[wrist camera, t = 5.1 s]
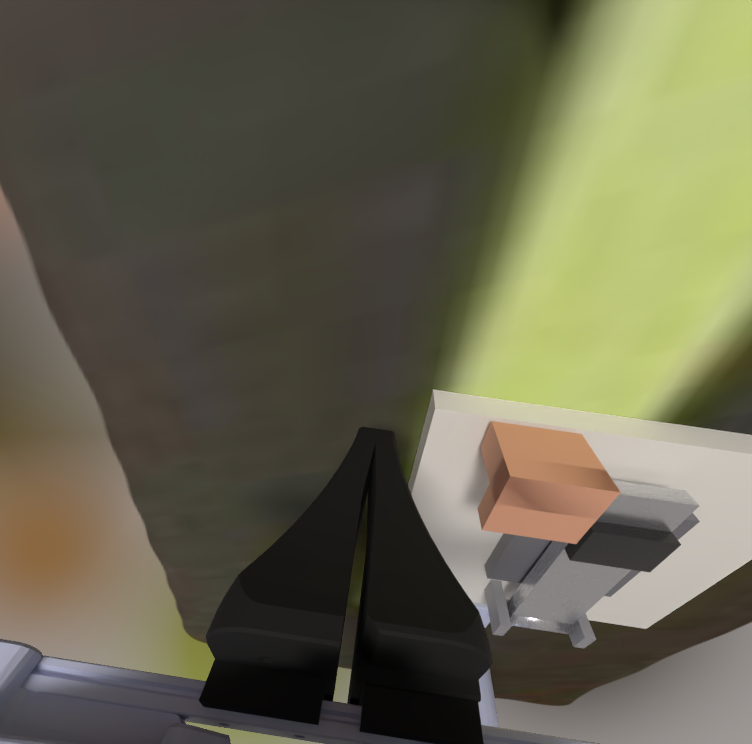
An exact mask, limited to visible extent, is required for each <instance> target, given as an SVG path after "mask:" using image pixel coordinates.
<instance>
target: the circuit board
mask: <svg viewBox="0 0 752 744" xmlns="http://www.w3.org/2000/svg"><path fill="white" fill-rule="evenodd" d="M491 421H495V422H502V423H509V424H516V425H523V426H529V427H536V428H543V429H550V430H557V431H564V432H571V433H578V434H582V435H583V437H584V438H585V440H586V441H587V443H588V444H589V446H590V447H591V449H592V450H593V452H594V453H595V455H596V456H597V458H598V459H599V461H600V462H601V464H602V465H603V467H604V468H605V470H606V471H607V473H608V474H609V476H610V477H611V479H612V480H617V481H624V482H630V483H637V484H644V485H651V486H658V487H665V488H671V489H678V490H685V491H687V493H688V494H689V495H690V496H691V497H692V498H693V499H694V500H695V501H696V502H697V504H698V505H699V507H698V508H697V509H696V510H695V511H694V512H693V513H692V514H691V515H690V516H688V517H687V518H686V519H685V520H684V521H683V522H682V523H681V524H680V525H679V526H678V527H677V528H676V529H675V530H674V531H672V533H673V534H674V536H675V537H676V538H677V540H678V541H679V542H680V544H681V546H679V547H678V548H677V549H676V550H675V551H674V552H673V553H671V554H670V555H669V556H668V557H667V558H666V559H665V560H664V561H662V562H661V563H660V564H659V565H658V566H657V567H656V568H654V569H653V570H652V571H651V572H643V571H637V570H631V571H630V572H629V573H628V574H627V575H626V576H625V577H623V578H622V579H621V580H620V581H619V582H618V583H617V584H616V585H615V586H614V587H613V588H612V589H611V590H610V591H609V592H607V593H606V594H605V595H604V596H603V597H602V598H601V599H600V600H599V601H598V602H597V603H596V604H595V605H594V606H593V607H592V608H590V609H589V610H588V611H587V612H586V613H585V614H584V615H583V616H582V617H581V618H580V619H579V620H578V621H577V622H576V623H574V624H573V625H574V629H573V633H572V634H569V636H570V639H571V642H572V645H573V647H578V648H585V647H587V646H588V645H589V644H591V643H592V642H593V641H595V640H596V638H595V635H594V633H593V630H592V628H591V626H590V623H589V621H588V620H592V621H599V622H605V623H612V624H618V625H625V626H631V627H638V628H644V629H647V628H648V627H650V626H651V625H653V624H654V623H656V622H657V621H659V620H660V619H662V618H663V617H665V616H666V615H668V614H669V613H671V612H672V611H674V610H675V609H677V608H679V607H680V606H682V605H683V604H685V603H686V602H688V601H689V600H691V599H692V598H694V597H695V596H697V595H698V594H700V593H701V592H703V591H704V590H706V589H707V588H709V587H710V586H712V585H714V584H715V583H717V582H718V581H720V580H721V579H723V578H724V577H726V576H727V575H729V574H730V573H732V572H733V571H735V570H736V569H738V568H739V567H741V566H742V565H744V564H745V563H747V562H749V561H750V560H752V435H748V434H741V433H734V432H727V431H720V430H713V429H706V428H699V427H692V426H685V425H678V424H671V423H664V422H657V421H650V420H643V419H636V418H629V417H622V416H615V415H608V414H601V413H594V412H587V411H580V410H573V409H566V408H559V407H552V406H545V405H538V404H531V403H524V402H517V401H510V400H503V399H496V398H489V397H482V396H475V395H468V394H461V393H454V392H447V391H440V390H433V392H432V396H431V399H430V403H429V407H428V411H427V415H426V419H425V422H424V426H423V430H422V434H421V438H420V441H419V445H418V449H417V453H416V457H415V461H414V464H413V468H412V472H411V476H410V480H409V483H408V488H409V490H410V493H411V495H412V498H413V500H414V503H415V505H416V507H417V509H418V512H419V514H420V516H421V518H422V520H423V522H424V524H425V526H426V528H427V530H428V532H429V534H430V536H431V538H432V539H433V541H434V543H435V544H436V546H437V548H438V550H439V551H440V553H441V555H442V557H443V558H444V560H445V562H446V563H447V565H448V567H449V568H450V570H451V571H452V573H453V574H454V576H455V577H456V579H457V581H458V582H459V583H460V585H461V586H462V588H463V589H464V591H465V592H466V594H467V595H468V597H469V598H470V599H471V601H472V602H475V603H482V604H487V607H488V612H489V618H490V623H491V629H492V634H494V635H501V636H504V634H505V633H506V632H507V631H508V630H509V629H510V628H511V627H512V626H511V621H510V617H509V613H508V608H507V604H506V600H505V599H510V598H511V597H512V596H513V594H514V593H515V591H516V590H517V589H518V587H519V586H520V585H521V583H522V582H523V581H524V579H525V578H526V576H527V575H528V574H529V572H530V571H531V570H532V568H533V567H534V566H535V564H536V563H537V561H538V560H539V559H540V557H541V556H542V555H543V553H544V552H545V551H546V549H547V548H548V546H549V545H550V544H551V542H552V540H545V539H538V538H532V537H525V536H518V535H512V534H505V533H498V532H492V531H485V530H482V529H481V524H480V519H479V514H478V509H477V508H478V506H479V504H480V502H481V500H482V498H483V496H484V494H485V492H486V490H487V488H488V486H489V484H490V482H489V479H488V475H487V471H486V467H485V463H484V460H483V456H482V452H481V445H482V443H483V440H484V438H485V436H486V433H487V431H488V429H489V426H490V424H491Z"/></svg>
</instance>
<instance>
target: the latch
mask: <svg viewBox="0 0 752 744" xmlns="http://www.w3.org/2000/svg"><path fill="white" fill-rule="evenodd" d="M481 452H482V456H483V460H484V463H485V467H486V471H487V475H488V479H489V482H490V484H489V486H488V488H487V490H486V492H485V494H484V496H483V498H482V500H481V502H480V504H479V506H478V508H477V509H478V514H479V519H480V524H481V529H482V530H485V531H492V532H498V533H505V534H512V535H518V536H525V537H532V538H538V539H545V540H552V541H559V542H565V543H572V544H577V543H578V541H579V540H580V539H581V538H582V537H583V536H584V534H585V533H586V532H587V531H588V530H589V529H590V528H591V526H592V525H593V524H594V523H595V522H596V521H597V519H598V518H599V517H600V516H601V515H602V514H603V513H604V511H605V510H606V509H607V508H608V507H609V506H610V504H611V503H612V502H613V501H614V500H615V499H616V498H617V496H618V495H619V494H620V493H621V492H620V490H619V489H618V487H617V486H616V485H615V483H614V482H613V480H612V479H611V477H610V476H609V474H608V473H607V471H606V470H605V468H604V467H603V465H602V464H601V462H600V461H599V459H598V458H597V456H596V455H595V453H594V452H593V450H592V449H591V447H590V446H589V444H588V443H587V441H586V440H585V438H584V437H583V435H582V434H578V433H571V432H564V431H557V430H550V429H543V428H536V427H529V426H523V425H516V424H509V423H502V422H495V421H491V424H490V426H489V429H488V431H487V433H486V436H485V438H484V440H483V443H482V445H481Z"/></svg>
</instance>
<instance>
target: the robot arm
mask: <svg viewBox="0 0 752 744" xmlns="http://www.w3.org/2000/svg"><path fill="white" fill-rule="evenodd" d="M368 488H369V490H368ZM367 492H368V516H367V543H366V556H365V565H364V573H363V582H362V590H361V598H360V606H359V615H358V623H357V631H356V639H355V647H354V655H353V663H352V671H351V679H350V687H349V695H348V703H347V704H346V703H340V702H333V695H334V690H335V683H336V676H337V669H338V662H339V655H340V648H341V641H342V634H343V627H344V620H345V613H346V606H347V599H348V592H349V585H350V578H351V572H352V565H353V558H354V551H355V546H356V541H357V537H358V532H359V528H360V523H361V519H362V515H363V510H364V506H365V501H366V497H367ZM489 622H490V618H489V612H488V607H487V604H482V603H475V602H472V601H471V599H470V598H469V597H468V595H467V594H466V592H465V591H464V589H463V588H462V586H461V585H460V583H459V582H458V581H457V579H456V577H455V576H454V574H453V573H452V571H451V570H450V568H449V567H448V565H447V563H446V562H445V560H444V558H443V557H442V555H441V553H440V551H439V550H438V548H437V546H436V544H435V543H434V541H433V539H432V538H431V536H430V534H429V532H428V530H427V528H426V526H425V524H424V522H423V520H422V518H421V516H420V514H419V512H418V509H417V507H416V505H415V503H414V500H413V498H412V495H411V493H410V490H409V488H408V485H407V482H406V479H405V476H404V473H403V470H402V467H401V464H400V460H399V456H398V452H397V448H396V443H395V435H394V433H393V432H392V431H388V430H381V429H374V428H367V427H361V428H359V430H358V433H357V436H356V438H355V440H354V442H353V444H352V446H351V448H350V450H349V452H348V454H347V455H346V457H345V459H344V460H343V462H342V464H341V465H340V467H339V468H338V470H337V471H336V473H335V474H334V476H333V477H332V479H331V480H330V481H329V483H328V484H327V486H326V487H325V488H324V490H323V491H322V492H321V493H320V495H319V496H318V497H317V498H316V500H315V501H314V502H313V503H312V504H311V506H310V507H309V508H308V509H307V510H306V511H305V512H304V513H303V515H302V516H301V517H300V518H299V519H298V520H297V521H296V522H295V523H294V524H293V525H292V526H291V527H290V528H289V529H288V530H287V531H286V532H285V533H284V534H283V535H282V536H281V537H280V538H279V539H278V540H277V541H276V542H275V543H274V544H273V545H272V546H271V547H270V548H269V549H267V550H266V551H265V552H264V553H263V554H262V555H261V556H259V557H258V558H257V559H256V560H255V561H254V562H253V563H251V564H250V565H249V566H248V567H247V568H246V569H244V570H243V571H242V572H241V573H240V574H239V575H238V577H237V578H236V579H235V581H234V582H233V584H232V585H231V587H230V588H229V590H228V592H227V593H226V595H225V597H224V598H223V600H222V602H221V604H220V606H219V607H218V609H217V612H216V614H215V616H214V618H213V621H212V623H211V625H210V628H209V630H208V632H207V634H206V640H207V644H208V646H209V648H210V650H211V652H212V654H213V656H214V657H215V661H214V663H213V666H212V668H211V671H210V673H209V676H208V678H207V681H200V680H194V679H188V678H182V677H176V676H169V675H162V674H157V673H150V672H144V671H138V670H130V669H125V668H118V667H113V666H106V665H100V664H94V663H87V662H81V661H75V660H68V659H62V658H56V657H49V656H43V655H42V653H41V652H40V651H39V650H38V649H36V648H35V647H33V646H31V645H28V644H25V643H21V642H16V641H9V640H3V639H0V744H231V743H230V738H229V735H225V734H221V733H218V732H214V731H210V730H207V729H203V728H199V727H195V726H192V725H187V724H186V723H185V721H187V722H193V723H200V724H206V725H212V726H218V727H224V728H231V729H237V730H243V731H250V732H256V733H262V734H268V735H274V736H281V737H287V738H293V739H300V740H306V741H312V742H318V743H324V744H599V743H592V742H585V741H579V740H573V739H566V738H560V737H555V736H548V735H542V734H536V733H529V732H523V731H516V730H510V729H503V728H499V724H498V717H497V711H496V705H495V700H494V693H493V687H492V681H491V674H490V666H491V664H492V658H491V650H490V646H489V642H488V638H487V634H486V631H485V628H486V626H487V625H488V624H489Z"/></svg>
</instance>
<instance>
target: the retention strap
mask: <svg viewBox="0 0 752 744" xmlns="http://www.w3.org/2000/svg"><path fill="white" fill-rule="evenodd" d="M613 482H614V483H615V485H616V486H617V487H618V489H619V490H620V492H621V493H620V494H619V495H618V496H617V498H616V499H615V500H614V501H613V502H612V503H611V504H610V506H609V507H608V508H607V509H606V510H605V511H604V513H603V514H602V515H601V516H600V517H599V518H598V519H597V521H596V522H595V523H594V524H593V525H592V526H591V528H590V529H589V530H588V531H587V532H586V533H585V534H584V536H583V537H582V538H581V539H580V540H579V541H578V543H577V544H572V543H565V542H559V541H552V542H551V544H550V545H549V546H548V548H547V549H546V551H545V552H544V553H543V555H542V556H541V557H540V559H539V560H538V561H537V563H536V564H535V566H534V567H533V568H532V570H531V571H530V572H529V574H528V575H527V576H526V578H525V579H524V581H523V582H522V583H521V585H520V586H519V587H518V589H517V590H516V591H515V593H514V594H513V596H512V597H511V598H510V599H505V600H506V604H507V608H508V613H509V617H510V621H511V625H512V626H518V627H525V628H531V629H538V630H544V631H551V632H557V633H564V634H572V633H573V629H574V625H573V624H574V623H576V622H577V621H578V620H579V619H580V618H581V617H582V616H583V615H584V614H585V613H586V612H587V611H588V610H589V609H590V608H592V607H593V606H594V605H595V604H596V603H597V602H598V601H599V600H600V599H601V598H602V597H603V596H604V595H605V594H606V593H607V592H609V591H610V590H611V589H612V588H613V587H614V586H615V585H616V584H617V583H618V582H619V581H620V580H621V579H622V578H623V577H625V576H626V575H627V574H628V573H629V572H630V571H631V570H637V571H643V572H651V571H652V570H653V569H654V568H656V567H657V566H658V565H659V564H660V563H661V562H662V561H664V560H665V559H666V558H667V557H668V556H669V555H670V554H671V553H673V552H674V551H675V550H676V549H677V548H678V547H679V546H681V544H680V542H679V541H678V540H677V538H676V537H675V536H674V534H673V533H672V531H674V530H675V529H676V528H677V527H678V526H679V525H680V524H681V523H682V522H683V521H684V520H685V519H686V518H687V517H688V516H690V515H691V514H692V513H693V512H694V511H695V510H696V509H697V508H698V507H699V505H698V504H697V502H696V501H695V500H694V499H693V498H692V497H691V496H690V495H689V494H688V493H687V491H685V490H678V489H671V488H665V487H658V486H651V485H644V484H637V483H630V482H624V481H617V480H613Z"/></svg>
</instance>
